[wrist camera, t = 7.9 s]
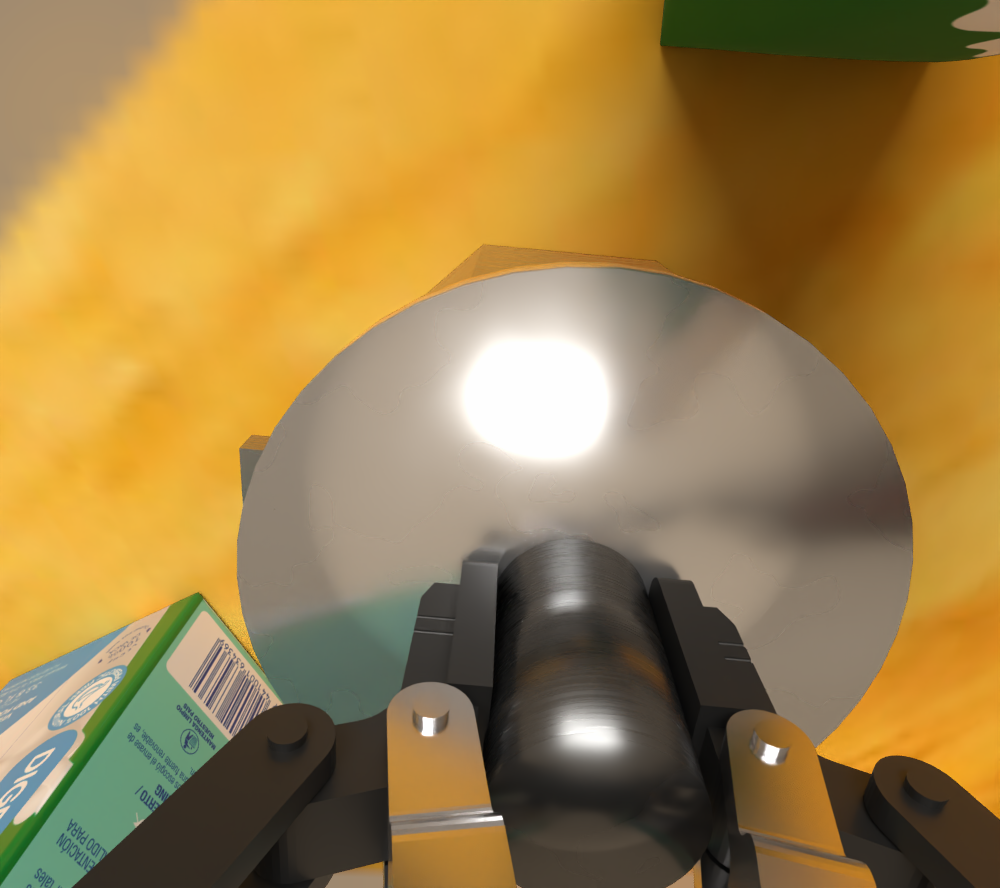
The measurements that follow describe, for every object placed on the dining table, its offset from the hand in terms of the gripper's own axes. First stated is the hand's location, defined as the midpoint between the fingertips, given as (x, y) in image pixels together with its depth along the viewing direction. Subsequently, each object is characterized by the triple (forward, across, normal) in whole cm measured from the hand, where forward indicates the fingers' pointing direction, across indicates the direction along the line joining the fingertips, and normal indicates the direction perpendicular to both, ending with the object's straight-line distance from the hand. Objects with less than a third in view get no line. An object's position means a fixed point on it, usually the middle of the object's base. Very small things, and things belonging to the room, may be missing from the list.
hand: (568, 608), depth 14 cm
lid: (+1, 0, 0) cm, 1 cm away
